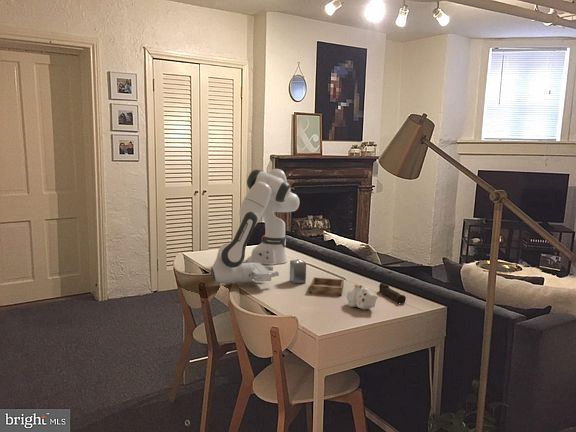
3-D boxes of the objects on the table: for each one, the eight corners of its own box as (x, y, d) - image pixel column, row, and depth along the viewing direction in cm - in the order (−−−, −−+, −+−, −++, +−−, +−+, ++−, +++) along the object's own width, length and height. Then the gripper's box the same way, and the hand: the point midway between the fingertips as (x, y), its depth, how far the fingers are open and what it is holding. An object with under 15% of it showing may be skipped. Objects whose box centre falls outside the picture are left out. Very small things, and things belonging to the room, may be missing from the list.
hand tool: (405, 304, 202) (406, 293, 201) (397, 304, 201) (398, 294, 200) (385, 291, 220) (385, 281, 219) (377, 291, 219) (377, 281, 218)
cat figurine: (346, 281, 199) (374, 285, 187) (358, 288, 204) (386, 293, 192) (338, 302, 196) (366, 308, 185) (350, 309, 201) (378, 315, 189)
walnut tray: (309, 293, 212) (310, 285, 211) (313, 284, 226) (313, 277, 225) (341, 295, 210) (341, 288, 209) (343, 286, 223) (343, 279, 223)
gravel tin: (293, 284, 225) (294, 260, 224) (289, 280, 231) (290, 258, 229) (305, 283, 227) (306, 260, 225) (301, 280, 233) (302, 257, 231)
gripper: (252, 271, 210) (282, 270, 215) (242, 260, 230) (269, 259, 234) (251, 285, 211) (281, 283, 216) (241, 273, 230) (269, 272, 235)
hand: (275, 271), depth 225 cm, fingers open, 8 cm apart
